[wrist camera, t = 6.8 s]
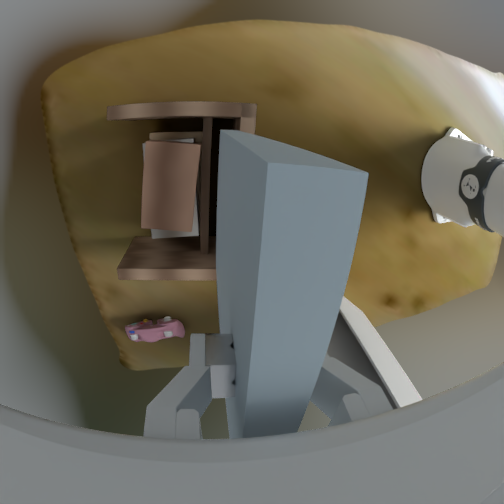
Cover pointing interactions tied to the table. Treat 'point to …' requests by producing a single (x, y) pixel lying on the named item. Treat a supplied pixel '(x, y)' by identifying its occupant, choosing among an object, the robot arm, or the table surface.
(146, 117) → the rack
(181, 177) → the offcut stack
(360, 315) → the brochure
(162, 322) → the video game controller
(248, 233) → the sheet
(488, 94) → the table surface
